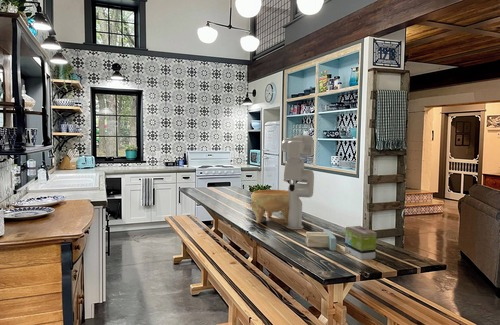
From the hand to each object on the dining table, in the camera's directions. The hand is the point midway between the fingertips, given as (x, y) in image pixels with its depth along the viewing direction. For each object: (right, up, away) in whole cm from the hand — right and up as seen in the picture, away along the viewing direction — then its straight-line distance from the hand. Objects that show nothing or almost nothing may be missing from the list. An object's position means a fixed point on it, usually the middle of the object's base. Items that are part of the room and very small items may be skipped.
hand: (291, 191), depth 225 cm
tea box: (+35, -34, -21) cm, 53 cm away
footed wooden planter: (-8, -27, +55) cm, 62 cm away
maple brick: (+14, -32, -4) cm, 36 cm away
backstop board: (+22, -32, -4) cm, 39 cm away
